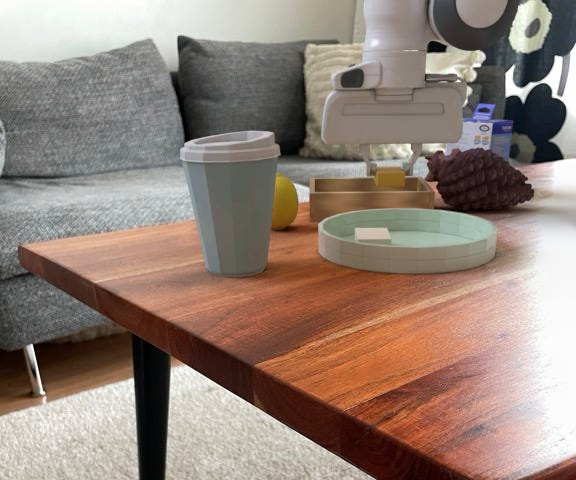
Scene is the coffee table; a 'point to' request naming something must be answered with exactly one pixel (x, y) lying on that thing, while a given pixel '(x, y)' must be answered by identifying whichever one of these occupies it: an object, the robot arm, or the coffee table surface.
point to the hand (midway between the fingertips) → (388, 175)
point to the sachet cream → (373, 236)
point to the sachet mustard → (390, 177)
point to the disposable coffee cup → (233, 198)
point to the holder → (365, 196)
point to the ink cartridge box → (484, 133)
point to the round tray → (409, 240)
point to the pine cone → (477, 180)
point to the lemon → (284, 203)
